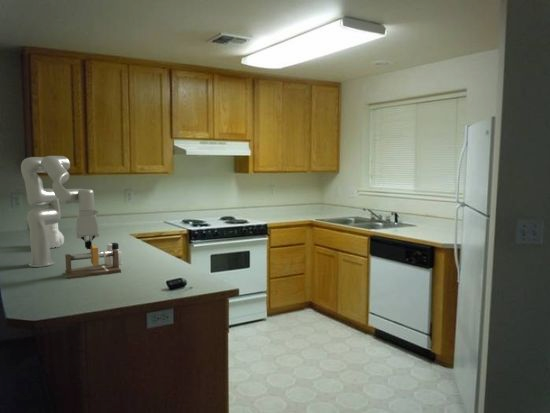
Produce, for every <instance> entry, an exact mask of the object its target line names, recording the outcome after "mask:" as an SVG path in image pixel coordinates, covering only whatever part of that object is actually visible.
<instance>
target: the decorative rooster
mask: <svg viewBox="0 0 550 413" xmlns="http://www.w3.org/2000/svg"><path fill="white" fill-rule="evenodd" d="M45 227H46V228H47V230H48V231H49V238H50V249H56V248H60V247H61V246H63V245H64V242H65V236H64V235H63V233H62V232H61V231H60V229H59V222H58V223H56V224H49V225H45ZM55 247H56V248H55Z"/></svg>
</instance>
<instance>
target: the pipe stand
mask: <svg viewBox="0 0 550 413" xmlns="http://www.w3.org/2000/svg"><path fill="white" fill-rule="evenodd" d="M118 251H119V250H112V251H107V250H105V251H104V250H103V251H98V259H99V258H100V259H101V258H104V259H105V257H111V256H113V264H112V265H105V264H104V265H96V266H88V267H85V266H84V267H78V268H72V261H81V260H89V259H90V260H91V258H93V256H92V253H90V252H85V253H74V254H70V253H66V254H65V255H64V256H65V270H64V272H65V275H66V277H67V278H68V279H69V280H71V279H77V278H78V279H79V278H86V277H94V276H96V277H97V276H102V275H111V274H119V273H120V274H121V273H122V270H121V268H120V265H119V259H118Z"/></svg>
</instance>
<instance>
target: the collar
mask: <svg viewBox="0 0 550 413" xmlns="http://www.w3.org/2000/svg"><path fill="white" fill-rule="evenodd" d="M89 250H90V251H89V253H92V256H93V258H91V259H90V264H92V267H94V266H100V263H99V261H100V260H99V258H98V252H99V248H98V247H97V246H96V244H92V247H91V249H89Z"/></svg>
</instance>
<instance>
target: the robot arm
mask: <svg viewBox="0 0 550 413" xmlns="http://www.w3.org/2000/svg"><path fill="white" fill-rule="evenodd" d="M70 167H71V162H70V159H69V158H68V157H66V156H64V155H47V156H30V157H26V158H25V159H23V160H22V162H21V164H20V172H21V175H22V179H23V180H24V185H25V190H26V192H25V193H26V198H27V203H28V205H30V206H31V207H41V208H33V209H31V210H29V211H28V213H27V215H26V220H27V224H28V228H29V237H30V239H29V240H30V253H31V255H30V256H31V262H29V263H28V267H30V268H41V267H42V268H43V267H49V266H52V265H54V264H55V262H54V261H53V260H52V257H51V248H50V238H49V231H48V230H47V228H46V227H45V225H49V224H56V223H58V224H59V222H60V221H61V218H62V215H61V214H62V213H61V204H60V202H61V203H62V204H64V205H71V204H78V216H76V238H77V239H81V240H82V241H84V248H85V249H86V250H90V249H91V247H92V245H93V244H92V243H93V241H94V239H96V238H98V237H99V236H100V233H99V222H98V218H97V217H98V216H97V215H96V214H98V210H96V209H95V194H94V193H95V192H94V190H93V189H91V188H90V189H89V188H87V189H84V188H65V187H64V186H63V184H65V183H67V182H68V180H69V179H70V173H69V172H68V171H69V170H70ZM38 173H46V174H47V175H48V176H49V177H50V179H51V180H52V181H53V182H52V188H44V183H43V180H42V178H41V177H40V176H39V174H38ZM43 206H46V207H43ZM87 236H88V237H87Z"/></svg>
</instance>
